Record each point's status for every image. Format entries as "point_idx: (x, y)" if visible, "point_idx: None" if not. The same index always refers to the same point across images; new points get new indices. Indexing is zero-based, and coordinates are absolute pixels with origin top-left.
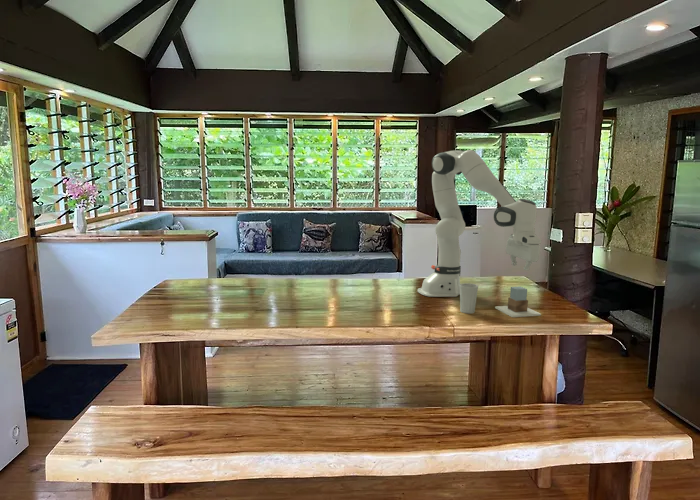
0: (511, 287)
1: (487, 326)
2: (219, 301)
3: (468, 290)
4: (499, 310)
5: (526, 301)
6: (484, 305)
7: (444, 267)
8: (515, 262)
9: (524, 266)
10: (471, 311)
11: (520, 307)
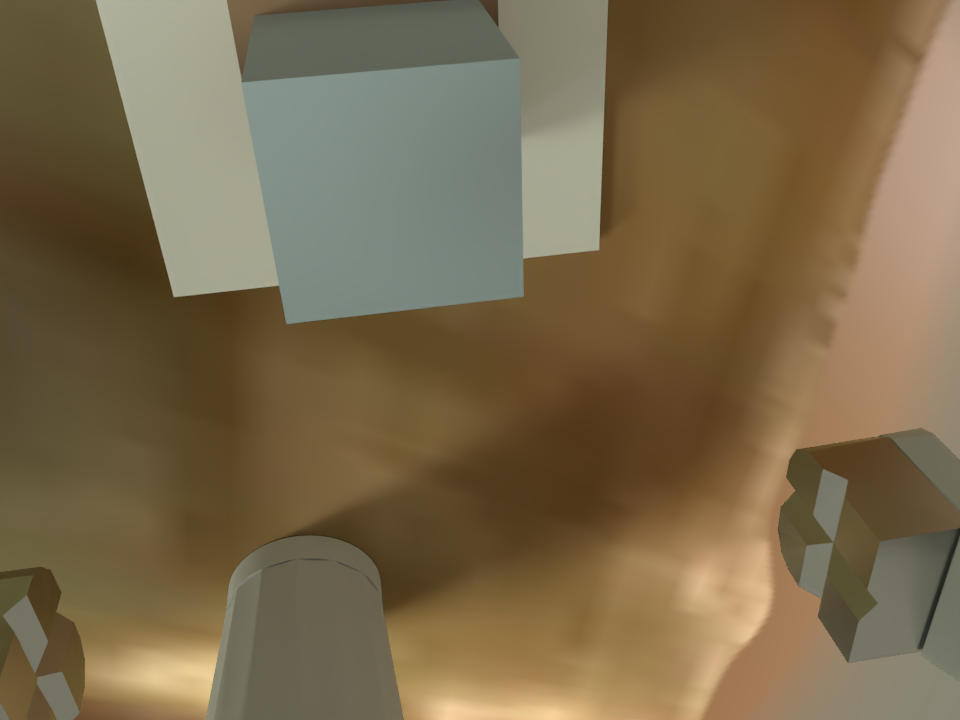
0: (310, 318)
1: (768, 551)
2: None
3: None
4: None
5: (494, 2)
6: (38, 365)
7: None
8: (29, 716)
9: (865, 638)
10: (381, 590)
11: None
